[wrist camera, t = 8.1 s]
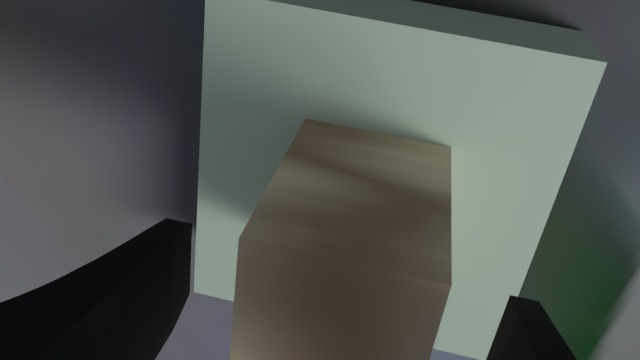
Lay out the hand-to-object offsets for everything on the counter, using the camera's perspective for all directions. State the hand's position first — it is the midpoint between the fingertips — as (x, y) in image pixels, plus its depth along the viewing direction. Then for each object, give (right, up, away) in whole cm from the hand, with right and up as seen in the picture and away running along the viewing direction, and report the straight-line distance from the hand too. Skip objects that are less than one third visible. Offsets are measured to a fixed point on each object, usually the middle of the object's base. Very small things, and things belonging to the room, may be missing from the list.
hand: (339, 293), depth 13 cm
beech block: (+1, +2, +4) cm, 4 cm away
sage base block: (+1, +3, +6) cm, 7 cm away
